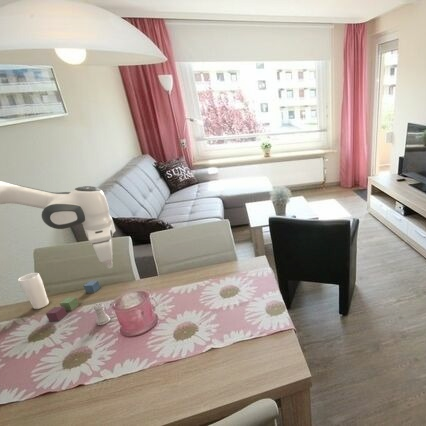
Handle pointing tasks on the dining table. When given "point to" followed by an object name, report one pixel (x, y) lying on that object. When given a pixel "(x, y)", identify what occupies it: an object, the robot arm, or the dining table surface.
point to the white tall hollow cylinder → (34, 290)
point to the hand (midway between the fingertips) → (110, 262)
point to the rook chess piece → (101, 315)
